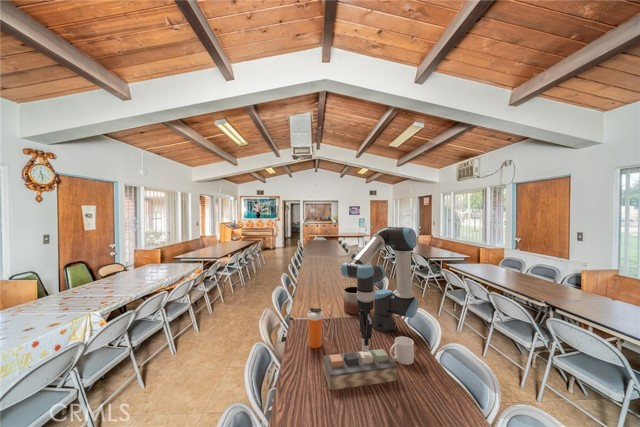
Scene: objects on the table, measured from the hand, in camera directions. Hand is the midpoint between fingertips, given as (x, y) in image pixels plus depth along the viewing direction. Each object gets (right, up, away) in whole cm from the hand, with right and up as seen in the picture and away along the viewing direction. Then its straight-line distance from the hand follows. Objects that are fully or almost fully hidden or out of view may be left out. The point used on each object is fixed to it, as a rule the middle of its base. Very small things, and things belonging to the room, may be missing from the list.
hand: (365, 351), depth 114 cm
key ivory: (0, -6, 0) cm, 6 cm away
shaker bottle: (-24, -11, +25) cm, 36 cm away
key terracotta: (-14, -6, -3) cm, 15 cm away
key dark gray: (-7, -6, -1) cm, 9 cm away
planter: (+6, -10, +72) cm, 73 cm away
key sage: (+7, -5, +1) cm, 9 cm away
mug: (+20, -11, +11) cm, 25 cm away
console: (-3, -11, -1) cm, 11 cm away
